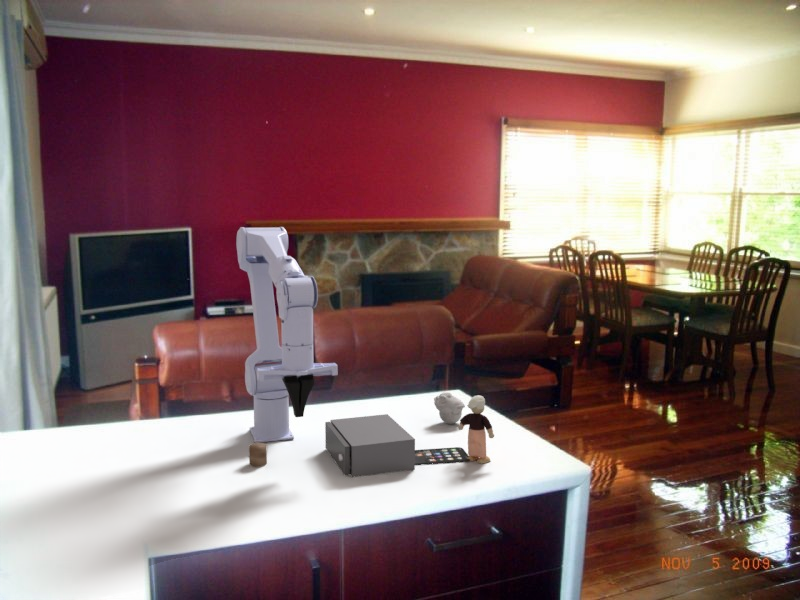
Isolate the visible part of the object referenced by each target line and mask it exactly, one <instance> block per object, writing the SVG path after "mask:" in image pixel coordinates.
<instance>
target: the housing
mask: <svg viewBox="0 0 800 600" xmlns="http://www.w3.org/2000/svg"><path fill="white" fill-rule="evenodd" d="M330 423H331V424H332V425H333V426H334V427H335V429H336V430H337V431H338V432H339V434H340V435H341V436H342V437H343V439H344V440H345V441H346V442H347V444H348V445H349V446H350V449H351V469H350V475H349V476H350V477H351V478H357V477H358V478H359V477H365V476H373V475H374V476H375V475H380V474H381V475H382V474H390V473H396V472H406V471H411V470H412V469H413V470H415V468H416V465H415V450H416V439H415V438H414V437H413V436H412V435H411V434H410V433H409V432H408V431H406V429H404V428H403V427H402V426H401V425H400V424H399V423H398V422H397V421H396V420H395V419H394V418H392V417H391V416H390V415H389V414H387V413H385V414H378V415H377V414H376V415H368V416H367V415H365V416H358V417H357V416H355V417H348V418H346V417H345V418H338V419H330Z"/></svg>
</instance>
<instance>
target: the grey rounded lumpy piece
mask: <svg viewBox="0 0 800 600" xmlns="http://www.w3.org/2000/svg"><path fill="white" fill-rule="evenodd" d="M433 401H434V402H433V403H434V406H435V408H436V409H437V410H438V411H439V417H440V419H441V421H442V422H444V423H445V424H448V425H454V424H456V423H458V422H460V419H462V415H463V413H462V411H463V409H464V408H465V407H466V404H465V402H463V401H462V400H461V399H459V398H457V397H456V396H454V395H453V394H452V393H451V392H446V391H445V392H441V393H440V394H439V395H437V396H435V397H434V398H433Z"/></svg>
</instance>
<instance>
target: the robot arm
mask: <svg viewBox="0 0 800 600" xmlns="http://www.w3.org/2000/svg"><path fill="white" fill-rule="evenodd" d="M235 244H236V251H237V252H236V254H237V261H238V265H239V269H241V270H242V271H244V272H245V273H247V276H248V281H249V285H250V286H249V287H250V294H251V295H250V296H251V304H252V306H251V307H252V314H253V322H254V323H253V324H254V332H255V334H254V335H255V341H256V342H255V343H256V349H255V351H253V352H252V353H251V354H249V355H248V357H247V358H246V360H245V361H244V367H245V369H244V382H245V388H246V391H247V393H248V394H249V395H250V396H253V424H254V425H253V426H250V427H249V432H250V433H251V436H252V439H253V441H254V443H266V442H267V443H268V442H277V441H285V440H286V441H287V440H293V439H294V438H295V437H294V434H293V432H292V431H291V429H290V404H289V403H290V402H289V400H290V401H291V405H292V406H291V407H292V410H293V415H294V417H295V418H302V417H304V414H305V409H306V408H305V407H306V406H307V405H306V403H307V401H308V398H309V395H310V393H311V391H312V389H313V388H314V385H315V382H316V381H315V378H314V377H319V376H320V377H321V376H338V374H339V373H338V372H339V369H338V368H339V367H338V364H337V363H336V362H328V363H327V362H324V363H323V362H320V363H319V362H318V363H317V362H314V361H315V360H314V309H315V308H316V307H317V305H318V301H319V290H318V284H317V280H316V279H315V277H314V276H313V275H306V274H304V272H303V270H302V269H301V267H300V265H299V264H298V262H297V260H296V259H295V258H294V257H292V256H291V255H288V251H289V250H288V249H289V235H288V232H287V230H286V229H285V227H284V226H279V227H244V226H240V227H239V229H238V230H237V233H236V242H235ZM274 287H275V289H276V301H277V302H276V301H275V295H274ZM275 302H276V303H277V307H278V308H277V309H278V317H279V319H280V320H281V322H280V323H281V324H280V325H281V326H280V327H281V328H280V329H281V346H280V339H279V329H278V321H277V312H276V305H275V304H276V303H275ZM289 398H290V399H289Z"/></svg>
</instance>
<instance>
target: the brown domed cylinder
mask: <svg viewBox="0 0 800 600" xmlns="http://www.w3.org/2000/svg"><path fill="white" fill-rule="evenodd" d="M267 448H268V447H267V444H266V443H265V442H260V443H256V442H254V443H251V444H249V447H248V451H249V453H248V455H249V456H248V457H249V466H250V467H255V468H257V467H258V468H260V467H264V466H266V465H267V464H268V456H267V452H268V450H267Z"/></svg>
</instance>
